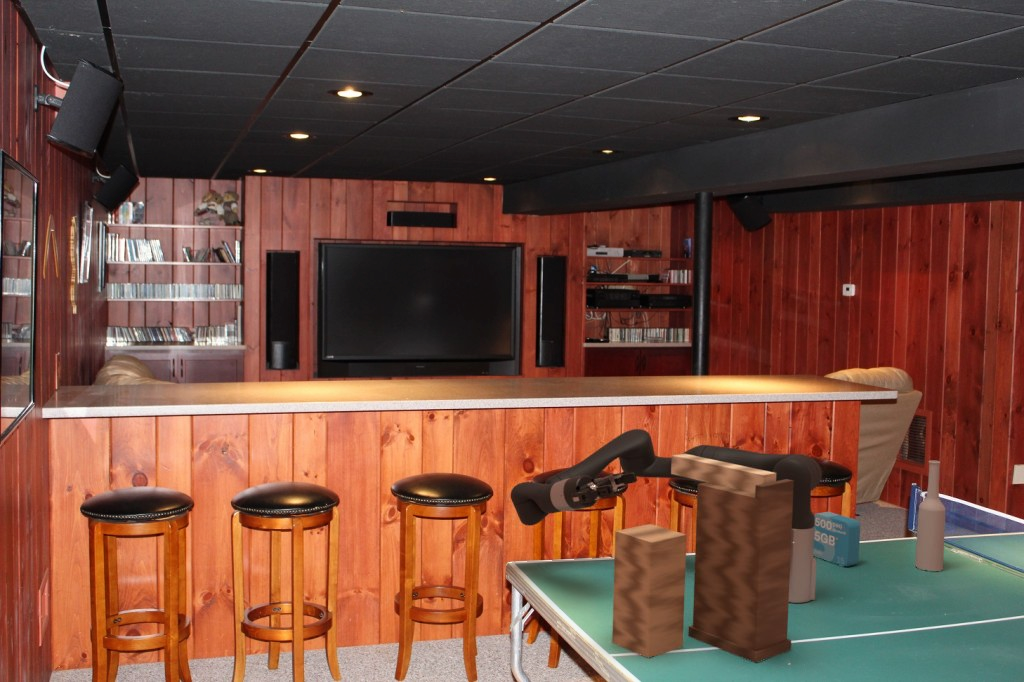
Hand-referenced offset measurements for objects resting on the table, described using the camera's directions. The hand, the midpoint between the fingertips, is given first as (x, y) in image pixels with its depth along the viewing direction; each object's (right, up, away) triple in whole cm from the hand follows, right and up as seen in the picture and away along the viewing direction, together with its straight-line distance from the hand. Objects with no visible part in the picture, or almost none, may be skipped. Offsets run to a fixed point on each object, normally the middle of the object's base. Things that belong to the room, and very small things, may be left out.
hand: (623, 483), depth 220 cm
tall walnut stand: (+21, -30, -19) cm, 41 cm away
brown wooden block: (+18, +3, -17) cm, 25 cm away
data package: (+60, -26, +39) cm, 76 cm away
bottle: (+83, -27, +35) cm, 94 cm away
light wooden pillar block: (+2, -30, -21) cm, 36 cm away
